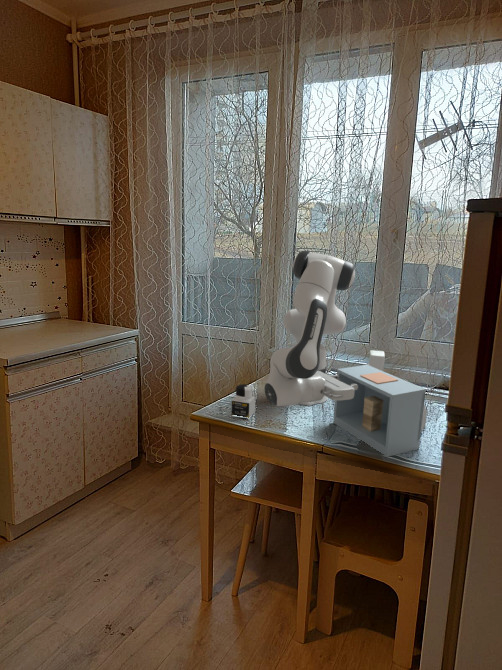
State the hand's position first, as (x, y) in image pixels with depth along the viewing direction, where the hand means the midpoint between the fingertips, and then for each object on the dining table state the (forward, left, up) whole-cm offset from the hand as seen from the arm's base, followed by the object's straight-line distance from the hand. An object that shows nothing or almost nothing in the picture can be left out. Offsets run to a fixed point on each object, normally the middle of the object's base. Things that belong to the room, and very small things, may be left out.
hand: (347, 382), depth 158 cm
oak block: (+9, +8, -19) cm, 22 cm away
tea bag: (+26, +20, -22) cm, 40 cm away
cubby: (+10, +9, -22) cm, 26 cm away
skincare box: (+11, +65, -22) cm, 69 cm away
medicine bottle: (-39, +13, -22) cm, 46 cm away
